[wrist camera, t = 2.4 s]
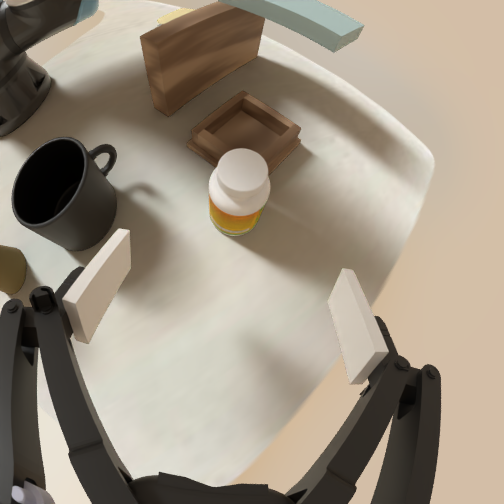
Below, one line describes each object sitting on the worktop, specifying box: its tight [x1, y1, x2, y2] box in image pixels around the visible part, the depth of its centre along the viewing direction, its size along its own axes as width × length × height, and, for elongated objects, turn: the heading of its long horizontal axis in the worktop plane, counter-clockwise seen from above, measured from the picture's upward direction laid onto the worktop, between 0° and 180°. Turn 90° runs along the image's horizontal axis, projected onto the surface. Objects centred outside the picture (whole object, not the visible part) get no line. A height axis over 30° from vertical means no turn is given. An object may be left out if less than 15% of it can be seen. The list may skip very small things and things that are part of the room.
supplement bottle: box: [209, 148, 270, 236], centre depth 25 cm, size 5×5×10 cm
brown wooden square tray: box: [187, 91, 301, 176], centre depth 30 cm, size 10×10×3 cm
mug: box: [12, 137, 117, 251], centre depth 24 cm, size 9×12×9 cm
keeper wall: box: [140, 1, 265, 117], centre depth 28 cm, size 3×19×12 cm, turn 142°
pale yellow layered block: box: [157, 8, 194, 27], centre depth 34 cm, size 10×9×6 cm
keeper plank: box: [218, 0, 364, 52], centre depth 22 cm, size 16×7×2 cm, turn 52°
